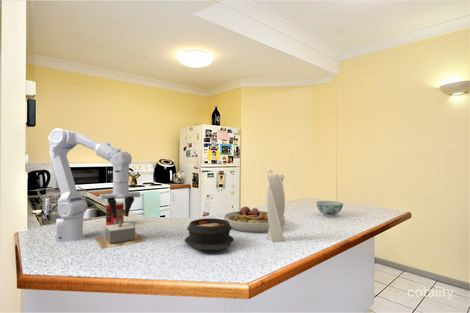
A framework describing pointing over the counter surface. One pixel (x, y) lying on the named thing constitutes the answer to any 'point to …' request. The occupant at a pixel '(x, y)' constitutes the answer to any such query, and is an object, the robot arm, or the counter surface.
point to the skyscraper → (275, 207)
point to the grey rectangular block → (120, 233)
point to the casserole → (209, 234)
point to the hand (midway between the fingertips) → (120, 216)
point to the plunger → (120, 215)
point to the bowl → (249, 220)
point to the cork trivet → (104, 243)
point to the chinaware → (329, 208)
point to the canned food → (109, 216)
